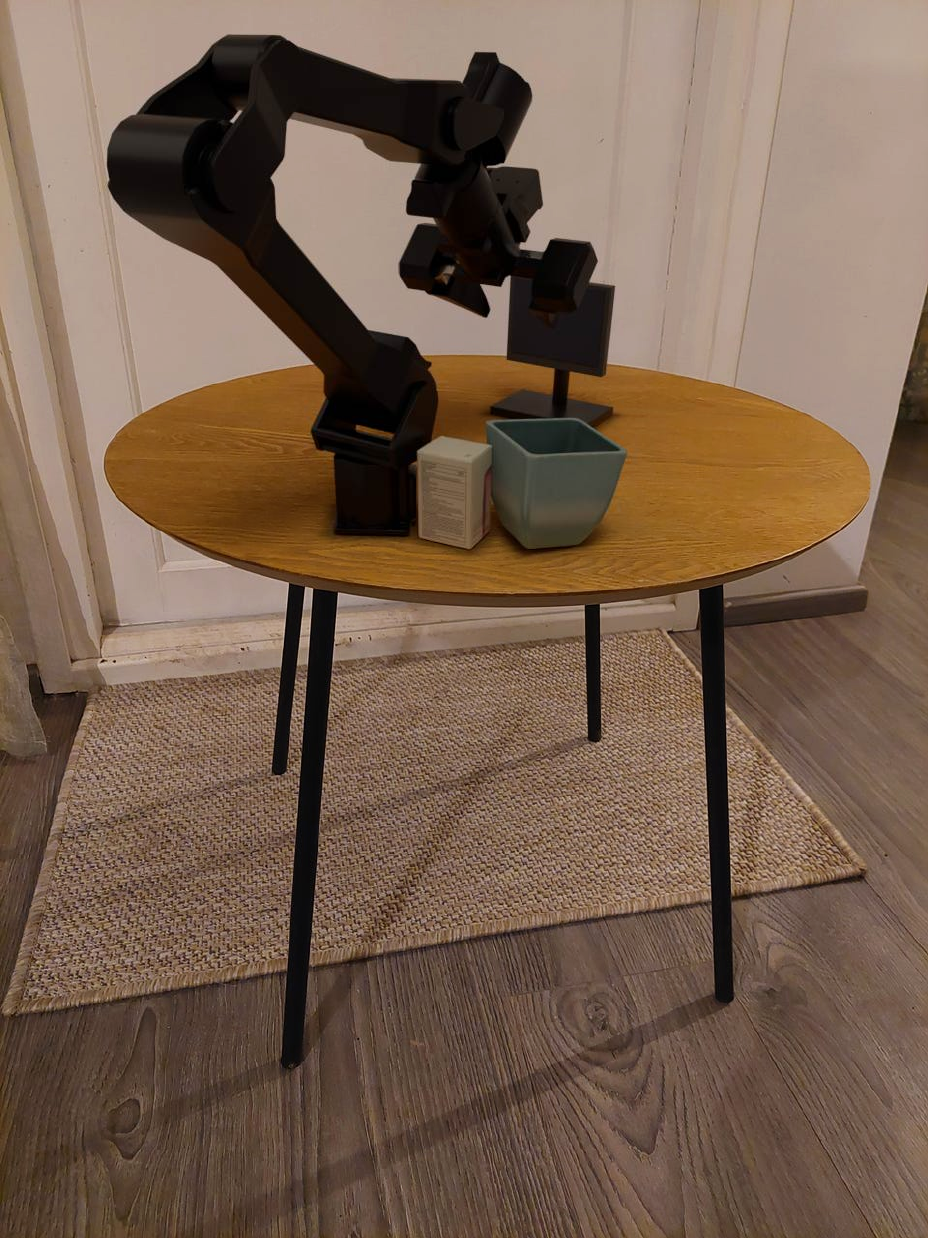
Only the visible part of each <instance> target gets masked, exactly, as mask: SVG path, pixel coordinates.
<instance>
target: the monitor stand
mask: <svg viewBox="0 0 928 1238" xmlns="http://www.w3.org/2000/svg"><path fill="white" fill-rule="evenodd" d="M570 375H571V372H570V371H564V370H559V369H554V370H553V385H552V394H550V393H545V392H539V391H534V390H529V389H524V388H522V389H520V390H518V391H516V392H514V393H512V394H510V395H509V396H507V397H505V398H502V399H501V400H499V401H497V402H495V403H493V404H491V405H490V406H489V414H490V415H493V416H497V417H502V418H507V419H511V420H514V419H552V418H578V419H580V420H582V421H584V422H585V423H586V424H588V425H589V426H591V427H592V428H594V429H595V427H597V426H599V425H600V424H601V423H603V422H605V421H606V420H607V419H609V418H610V417H612V416H613V414H614V407H613V406H610V405H604V404H599V403H595V402H589V401H584V400H580V399H574V398H569V387H570V377H571V376H570Z"/></svg>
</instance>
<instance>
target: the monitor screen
mask: <svg viewBox="0 0 928 1238" xmlns="http://www.w3.org/2000/svg"><path fill="white" fill-rule="evenodd" d="M509 277H510V280H509V299H508V300H509V301H508V319H507V321H508V322H507V342H506V345H507V346H506V359H505V360H506V361H511V362H516V363H522V364H527V365H531V366H537V367H543V368H549V369H559V370H564V371H570V373H575V374H582V375H587V376H592V377H597V378H603V377H605V376H606V375H607V368H608V358H609V351H610V349H609V348H610V339H611V329H612V320H613V312H614V302H615V301H614V300H615V294H616V293H615V291H616V285H613V284H608V283H607V284H605V283H598V282H591V281H589V284H588V286H587V288H586V291H585V293H584V295H583V298H582V300H581V302H580V305H579V307H578V309H577V310H575V311H573V312H571V313H564V312H559V313H558V320H557V323H556V325H555V328H554V329H551V328H549V327H548V326H546V325H545V324H544V323H543V322H542V321H541V320H540V319H538V318H537V317H536V316H535V315H534V314H533V313H532V312H531V311H530V310H529V309H528V308H529V305H530V303H531V301H532V297H531V289H532V280H533V279H530V278H523V277H516V276H509Z"/></svg>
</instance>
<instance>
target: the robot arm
mask: <svg viewBox="0 0 928 1238" xmlns="http://www.w3.org/2000/svg"><path fill="white" fill-rule="evenodd" d="M532 103H533V91H532V88H531V85H530V83H529V82H527V81H526V80H525V79H524V78H523V76H522V75H521V74H520V73H518V71H516V70H515V69H514V68H512V67H511V66H508V65H507V64H504V63H502V62H500V59H499V56H498V54H497V52H496V51H475V52H474V53H473V55H472V57H471V59H470V61H469V64H468V68H467V71H466V74H465V76H464V77H463V80H462V81H461V80H455V79H426V78H396V77H393V78H392V77H388V76H385V75H383V74H379V73H376V72H373V71H371V70H368V69H365V68H362V67H358V66H356V65H353V64H350V63H347V62H344V61H341V60H339V59H335V58H333V57H330V56H327V55H324V54H321V53H318V52H315V51H313V50H309V49H307V48H303V47H301V46H298V45H297V44H295V43H294V42H292V41H291V40H289V39H287V38H286V37H284V36H283V35H281V34H226V35H225V36H222V37H221V38H220V39H218V40H216V41H215V42H214V43H212V44H211V46H210V47H209V48H208V49H207V51H206V52H205V53H204V55H202V57H201V58H200V60H199V61H198V62H197V63H196V64H195V65H194V66H192V67H191V68H189V69H188V70H186V71H184V72H183V73H182V74H180V75H178V77H176V78H175V79H173V80H172V81H170V82H169V83H168V84H166V85H165V86H163V87H161V88H160V89H159V90H158V91H156V92H154V93H153V94H152V95H151V96H150V97H149V98H148V99H147V100H146V101H145V102H144V103H143V105H142V106H141V107H140V108H139V110H138V111H137V112H136V114H130V115H129V116H127V117H126V118H124V119H122V120H121V121H119V123H118V124H117V125H116V127H115V128H114V130H113V131H112V133H111V135H110V138H109V142H108V145H107V148H106V154H107V155H106V170H107V175H108V182H107V189H108V191H109V193H110V195H111V197H112V199H113V201H114V202H115V203H116V204H117V206H119V208H120V209H121V210H122V212H124V213H125V214H126V215H127V216H128V217H130V218H132V219H133V220H135V221H136V222H138V223H139V224H141V225H142V226H144V227H145V228H147V229H148V230H150V231H151V232H153V233H154V234H156V235H157V236H159V237H160V238H162V239H163V240H165V241H168V242H169V243H171V244H173V245H176V246H178V247H180V248H182V249H184V250H186V251H188V252H190V253H192V254H195V255H197V256H198V257H201V258H203V259H204V260H207V261H209V262H210V263H212V264H214V265H215V266H216V267H218V269H219V270H220V271H222V273H223V274H225V276H226V277H227V278H228V279H230V281H231V282H232V283H233V284H234V285H235V286H236V287H237V288H238V289H239V290H240V291H241V292H242V293H243V294H244V295H245V296H246V297H247V298H248V299H249V300H250V301H251V302H252V303H253V304H254V305H255V306H256V307H257V308H258V309H259V310H260V311H261V312H262V313H263V314H264V315H265V316H266V317H267V318H268V319H269V320H270V321H271V322H272V323H273V324H274V325H275V326H276V327H277V329H279V330H280V331H281V332H282V333H283V335H285V336H286V338H288V340H290V341H291V343H292V344H293V345H294V346H295V347H297V348H298V349H299V351H300V352H301V353H303V354H304V355H305V357H306V358H308V360H310V362H311V363H312V364H313V365H314V366H315V367H316V368H317V369H318V370H319V371H320V372H321V374H322V375H323V382H322V383H323V384H322V385H323V388H322V391H323V394H324V397H325V399H324V401H323V403H322V406H321V407H320V409H319V411H318V413H317V416H316V418H315V420H314V421H313V424H312V426H311V429H310V434H311V437H312V440H313V443H314V446H315V450H317V451H321V452H328V453H332V454H334V455H333V474H334V475H333V479H334V491H335V492H334V494H335V495H334V497H335V513H336V515H335V519H334V522H333V526H332V530H333V533H334V534H347V535H348V534H349V535H351V534H352V535H388V536H389V535H396V536H406V535H409V534H410V533H411V528H412V521H415V520H416V519H417V516H418V469H417V464H414V463H417V451H418V450H419V449H421V448H422V447H424V446H426V445H427V444H429V443H430V442H432V439H433V433H434V428H435V424H436V418H437V413H438V408H439V392H438V389H437V383H436V380H435V378H434V376H433V374H432V372H431V371H430V370H429V369H430V368H431V367H432V365H433V363H432V361H430V360H427V359H425V358H424V357H423V355H422V354H421V353H420V350H419V349H418V347H417V344H416V343H415V342H414V341H413V340H412V339H411V338H410V337H408V336H406V335H405V336H404V335H399V334H395V333H394V334H393V333H387V332H382V331H376V330H371V329H368V328H367V327H366V326H365V324H364V323H363V322H362V321H361V319H359V317H358V316H357V315H356V314H355V312H354V311H353V310H352V308H350V307H349V305H348V303H346V302H345V300H344V299H343V298H342V296H341V295H340V294H339V293H338V292H337V291H336V289H335V288H334V287H333V286H332V285H331V283H330V282H329V281H328V280H327V279H326V277H325V276H324V275H323V274H322V273H321V272H320V270H319V269H318V267H316V265H315V264H314V263H313V262H312V261H311V259H310V258H309V257H308V256H307V255H306V254H305V252H304V251H303V250H302V248H301V247H300V246H299V245H298V244H297V242H296V241H294V239H293V237H292V236H290V234H289V233H288V232H287V231H286V230H285V227H283V226H282V224H281V223H280V222H279V220H278V219H277V204H276V203H277V201H276V187H275V183H274V182H273V179H272V177H273V176H274V174H275V173H276V172H277V170H278V168H279V167H280V166H281V164H282V162H283V161H284V159H285V156H286V144H287V128H288V122H289V120H293V121H296V122H301V123H305V124H307V125H308V124H309V125H312V126H317V127H321V128H324V129H328V130H333V131H337V132H341V133H345V134H350V135H354V136H355V137H356V138H358V139H360V140H361V141H362V143H363V146H364V147H365V148H366V149H367V150H369V151H371V152H372V153H374V154H376V155H378V156H379V157H381V158H382V159H384V160H386V161H387V162H393V163H394V162H395V163H406V164H417V165H419V167H418V169H417V171H416V173H415V176H414V179H412V180H411V183H410V191H409V194H408V196H407V198H406V203H405V213H406V215H408V216H411V217H412V216H413V217H420V218H429V219H433V221H434V223H431V222H422V223H418V224H416V225H415V227H414V229H413V231H412V233H411V235H410V237H409V240H408V242H407V243H406V246H405V248H404V251H403V252H402V254H401V257H400V259H399V261H398V263H397V269H398V270H397V271H398V272H397V273H398V276H399V278H400V279H401V281H402V282H403V283H404V285H405V287H406V289H409V290H415V291H421V292H425V293H426V295H428V296H433V297H436V298H438V299H441V300H442V301H445V302H448V303H450V304H452V305H455V306H457V307H459V308H462V309H464V310H466V311H468V312H471V313H473V314H474V315H477V316H479V317H481V318H484V319H487V318H488V317H489V315H490V312H491V306H490V303H489V300H488V297H487V296H486V293H485V291H484V289H483V287H482V285H484V286H492V287H497V288H502V287H503V284H504V282H505V280H506V278H508V277H511V276H516V277H523V278H530V279H533V280H532V289H531V297H532V301H531V303H530V305H529V308H528V309H529V310H530V311H531V312H532V313H533V314H534V315H535V316H536V317H537V318H538V319H540V320H541V321H542V322H543V323H544V324H545V325H546V326H548V327H549V328H551V329H554V328H555V325H556V323H557V320H558V313H559V312H564V313H571V312H573V311H575V310H577V309H578V307H579V305H580V302H581V300H582V298H583V295H584V293H585V291H586V288H587V286H588V284H589V282H591V279H592V276H593V274H594V272H595V269H596V267H597V265H598V262H599V260H598V257H597V254H596V251H595V248H594V246H593V245H592V243H591V241H587V240H579V239H570V238H569V239H568V238H559V237H554V238H550V239H549V241H548V243H547V246H546V248H545V250H544V251H539V250H531V249H522V248H520V246H521V244H522V243H523V244H526V243H527V241H528V239H529V236H530V234H531V230H530V227H529V225H528V222H530V220H531V219H532V218H533V217H534V216H535V214H536V213H537V212H538V210H541V209H542V208H543V206H544V200H543V192H542V183H541V177H540V171H539V170H538V169H537V168H534V167H533V168H532V167H520V166H507V165H506V166H505V165H504V166H503V164H505V162H506V160H507V158H508V155H509V154H510V151H511V149H512V147H513V144H514V142H515V140H516V138H517V136H518V133H519V131H520V129H521V127H522V125H523V122H524V121H525V118H526V116H527V113H528V111H529V109H530V107H531V105H532ZM239 111H240V114H239V115H238V116H237V117H236V115H237V114H238V112H239ZM235 117H236V119H235V120H234V122H233V121H232V120H233V119H234V118H235ZM501 164H502V166H498V165H501ZM494 166H498V167H494ZM357 426H359V427H362V428H363V427H364V428H368V429H372V430H375V431H380V432H383V433H388V434H393V436H392V437H387V436H383V435H379V434H376V433H372V432H366V431H363V430H358V429H356V428H357Z"/></svg>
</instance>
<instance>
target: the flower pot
mask: <svg viewBox="0 0 928 1238" xmlns="http://www.w3.org/2000/svg"><path fill="white" fill-rule="evenodd" d="M485 424H486V425H485V426H486V427H485V428H486V431H485V433H486V435H485V436H486V444H489V445H492V470H491V501H492V503H493V506H494V508H495V511H496V513H497V515H498V517H499V520H500V521H501V524H502V526H503V528H504V529H506V530H507V531H508V532H509V533H510V535H512V537H514V538H515V539H516V540H517V541H518V542H519V543H520V544H521V546H523V547H524V548H526V549H530V550H533V549H534V550H535V549H544V548H545V549H546V548H554V547H555V548H556V547H569V546H578V545H580V544H582V542H583V541H584V540H585V539H587V538H588V537H589V536H590V535H591V533H593V532H594V530H595V529H596V528H597V527H598V525H599V524H600V523H601V521H602V520H603V518H604V516H605V515H606V513H607V511H608V510H609V507H610V505H611V503H612V501H613V497H614V495H615V492H616V489H617V486H618V482H619V480H620V477H621V473H622V472H623V471H622V470H623V468H624V464H625V462H626V458H627V455H628V453H629V452H628V449H626V448H624V447H623V446H621V445H620V444H618V443H617V442H616V441H614V440H612V439H611V438H609V437H608V436H606V435H605V434H604V433H602V432H600V431H598V430H597V429H595V427H594V428H592V427H591V426H589V425H588V424H586V423H585V422H584V421H582V420H580V419H578V418H552V419H493V420H487V421H486V423H485Z"/></svg>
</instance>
